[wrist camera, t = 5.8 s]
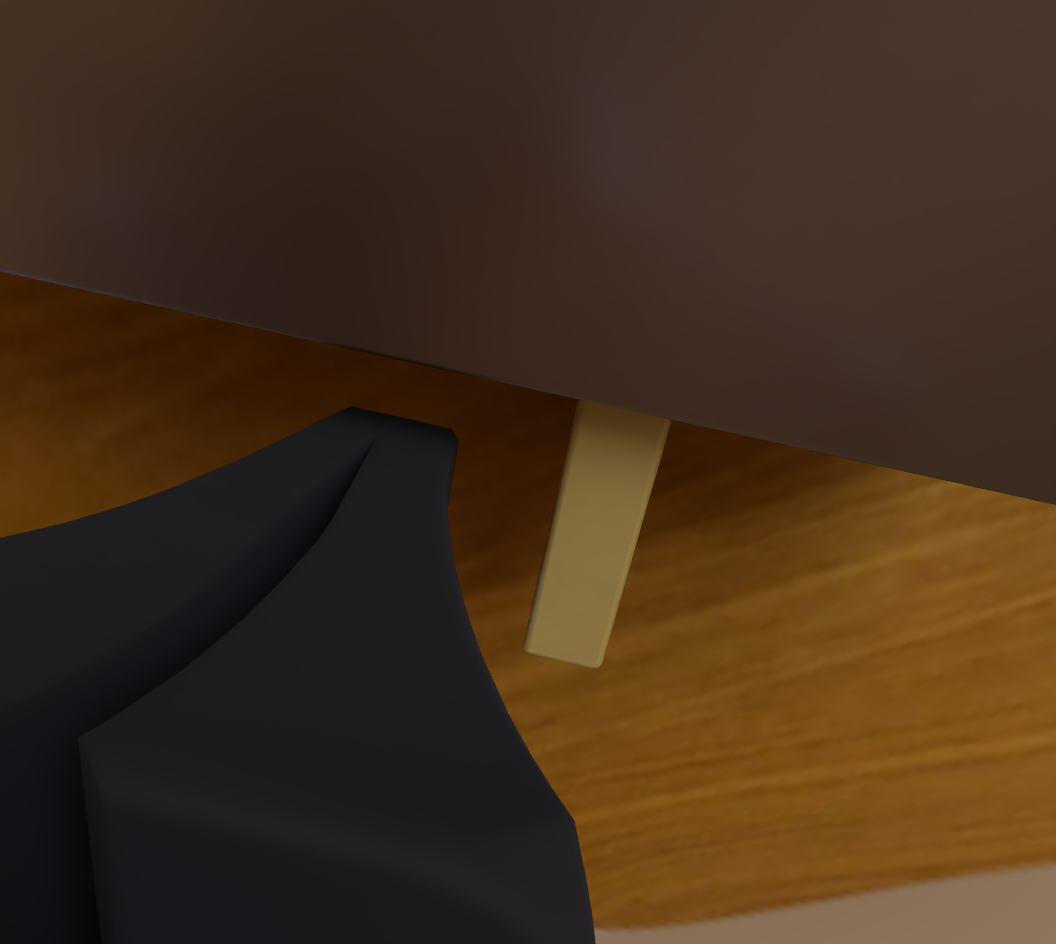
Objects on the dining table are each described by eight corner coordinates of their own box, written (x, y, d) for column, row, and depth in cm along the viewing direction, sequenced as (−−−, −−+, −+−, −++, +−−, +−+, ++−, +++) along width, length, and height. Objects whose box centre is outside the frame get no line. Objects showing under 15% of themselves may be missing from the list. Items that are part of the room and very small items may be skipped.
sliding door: (384, 453, 15) (293, 602, 11) (414, 165, 12) (311, 242, 9) (795, 545, 14) (833, 727, 11) (905, 269, 12) (997, 390, 9)
